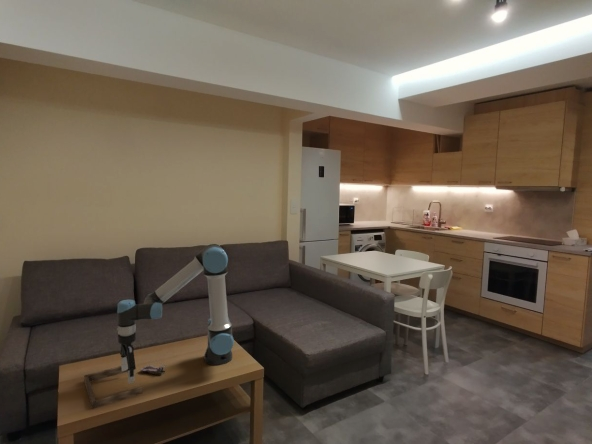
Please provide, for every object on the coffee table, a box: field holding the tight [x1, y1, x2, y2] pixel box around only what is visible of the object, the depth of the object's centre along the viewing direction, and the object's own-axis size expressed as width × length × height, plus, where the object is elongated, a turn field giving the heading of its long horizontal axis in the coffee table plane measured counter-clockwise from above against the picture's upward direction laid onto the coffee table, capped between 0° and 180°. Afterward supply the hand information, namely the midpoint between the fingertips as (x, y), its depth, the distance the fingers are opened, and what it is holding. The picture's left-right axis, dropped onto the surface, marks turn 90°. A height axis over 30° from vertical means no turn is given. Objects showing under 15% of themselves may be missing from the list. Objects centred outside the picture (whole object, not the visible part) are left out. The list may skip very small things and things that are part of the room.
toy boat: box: [139, 364, 167, 376], centre depth 178 cm, size 13×6×4 cm, turn 72°
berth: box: [83, 365, 143, 410], centre depth 164 cm, size 20×27×3 cm
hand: (127, 376), depth 168 cm, fingers open, 13 cm apart
